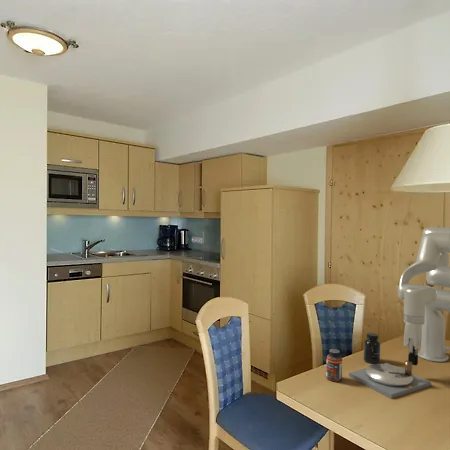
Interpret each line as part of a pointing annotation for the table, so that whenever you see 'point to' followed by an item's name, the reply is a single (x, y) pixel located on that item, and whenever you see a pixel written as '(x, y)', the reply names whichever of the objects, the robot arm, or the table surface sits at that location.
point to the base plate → (389, 390)
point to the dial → (391, 374)
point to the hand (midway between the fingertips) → (412, 364)
